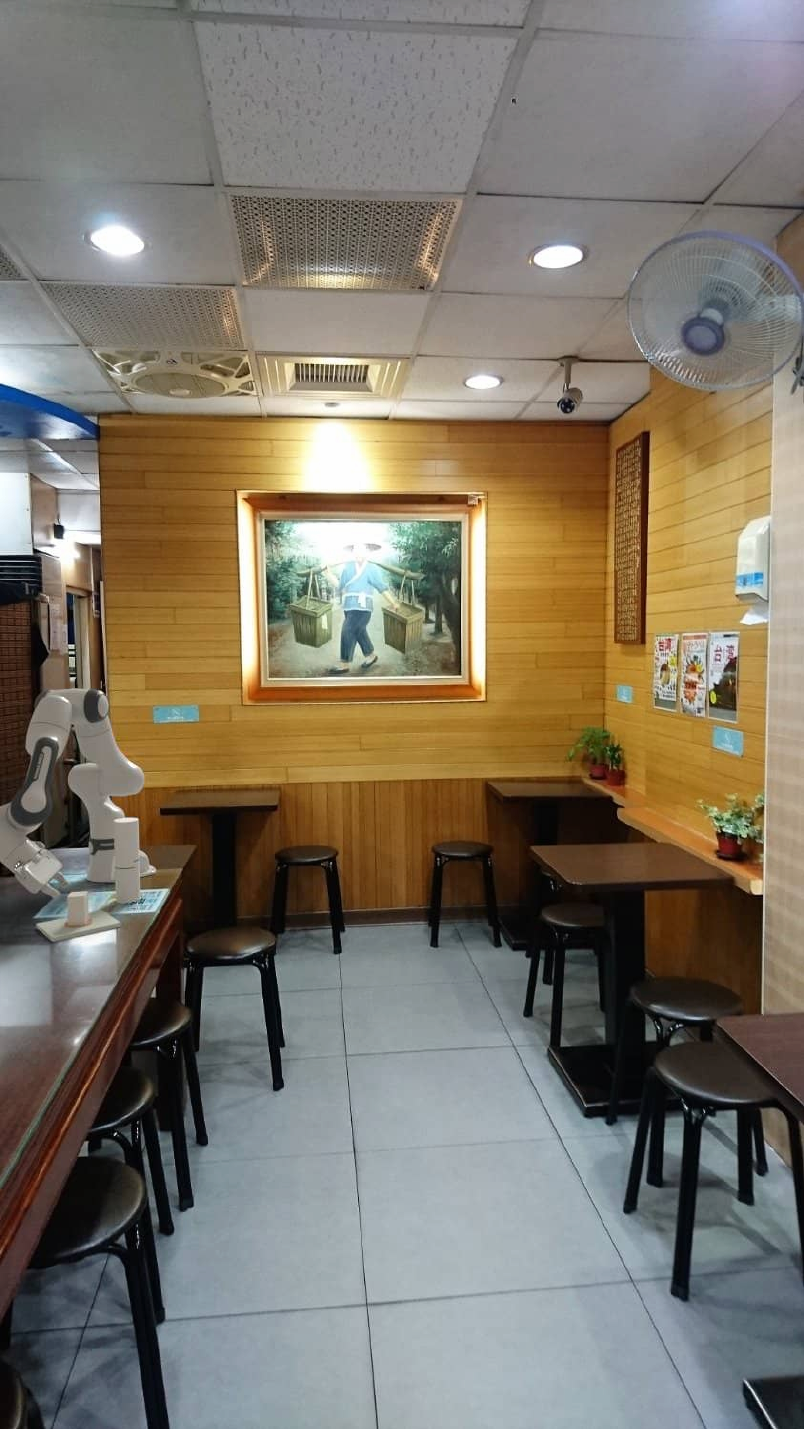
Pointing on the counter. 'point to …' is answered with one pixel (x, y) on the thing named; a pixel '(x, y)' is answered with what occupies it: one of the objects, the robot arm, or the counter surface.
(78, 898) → the square block
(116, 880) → the cylindrical container
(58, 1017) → the counter surface
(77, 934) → the base plate
